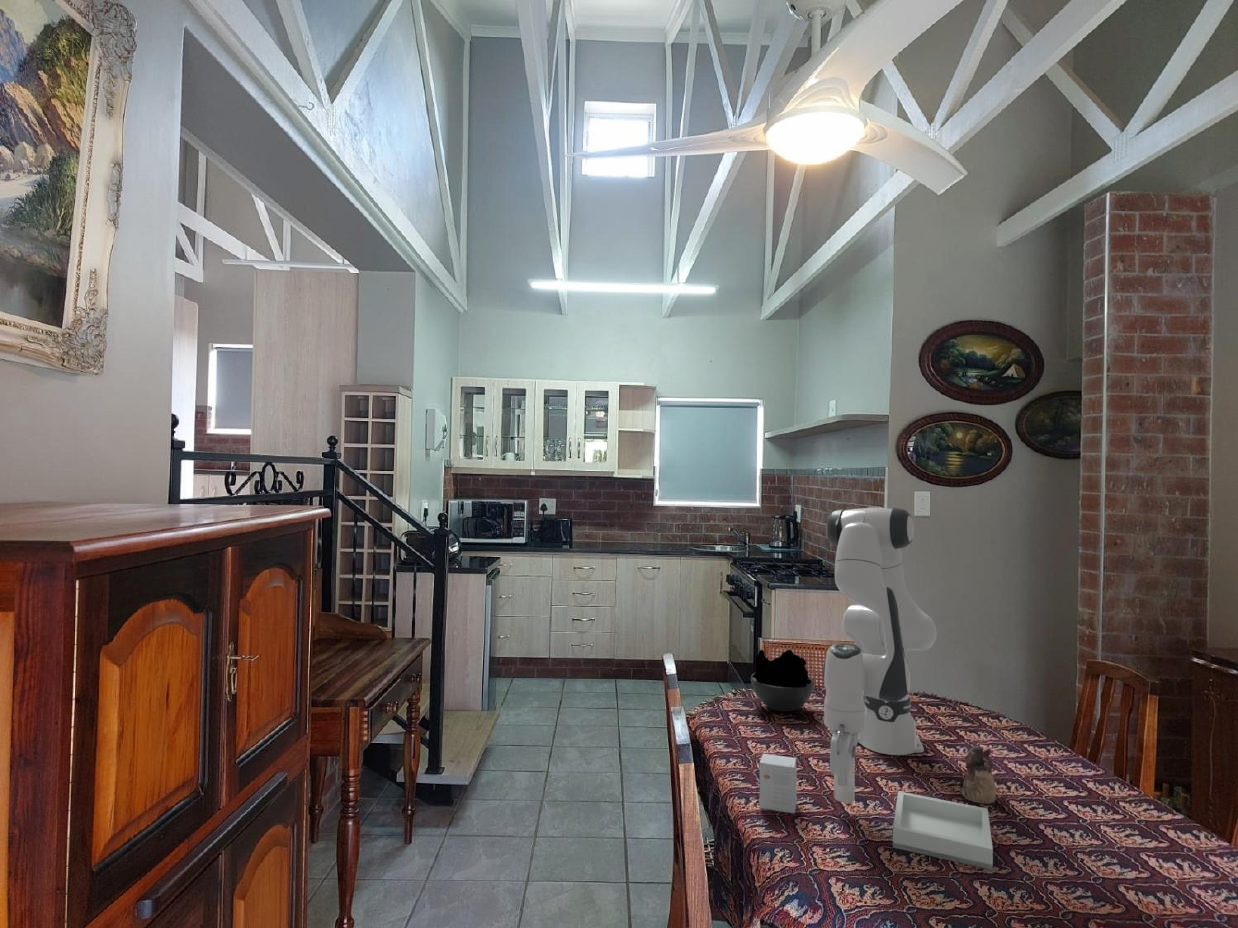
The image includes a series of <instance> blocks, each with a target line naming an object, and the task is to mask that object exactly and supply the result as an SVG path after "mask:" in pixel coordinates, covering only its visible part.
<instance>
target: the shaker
mask: <svg viewBox="0 0 1238 928" xmlns="http://www.w3.org/2000/svg"><path fill="white" fill-rule="evenodd" d="M856 749H857V746H856V747H855V746H853V749H852V762H851V765H850V769H849V772H848V775H847V785H846V787H843V786H839V785H838V776H837V775H833V797H834V799H835V800H836V801H838V802H841V803H844V804H851V803H854V802H855V800H856V798H855V793H856V792H855V787H856V786H855V785H856V784H855V781H856V780H855V779H856V778H855V777H856V776H855V774H856V773H855V769H856V767H855V766H856V764H855V763H856V759H855V758H856V754H857V753H856V752H857V751H856ZM837 754H838V753H837ZM838 755H840V754H838Z"/></svg>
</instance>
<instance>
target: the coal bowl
mask: <svg viewBox="0 0 1238 928" xmlns="http://www.w3.org/2000/svg"><path fill="white" fill-rule="evenodd" d="M755 662H756V663H755V672H754V673H753V674H751V676H750V682H751V687H752V689H753V692H754V694H755V696H756V697H757V699H758V700H759V701H761V703H763V704H764V705H765V706H766V707H768V708H770V709H772V710H774V711H776V712H792V711H795V710H798V709H800V708H801V707H802V706H804V705H805V704H806V703H807V702H808V701H809V699H810V697H811V696H812V694H813V691H814V688H815V687H814V686H815V681H814V679H813V678H812V677H810V676H809V675H808V674H809V670H807V668H806V664H807V661H806V660H805V659H804V658H803V657H801V656H799V655H797V654H795V653H794V652H793V650H792V649H787V650H786V651H784V652H782V653H781V655H780V656H779V657H775V658H773V659H772V660H769V658H767V657H766V655H765V650H764V649H760V650H759V651H758V654H757V655H756V657H755Z"/></svg>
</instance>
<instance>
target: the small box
mask: <svg viewBox="0 0 1238 928" xmlns="http://www.w3.org/2000/svg"><path fill="white" fill-rule="evenodd" d="M797 771H798V770H797V757H790V756H783V755H776V754H768V753H762V754H761V758H760V761H759V808H760V809H765V810H769V811H775V812H776V811H777V812H783V813H789V814H796V808H797V804H798V803H797V802H798V798H797V797H798V793H797V790H798V789H797V787H798V786H797V776H798V775H797Z"/></svg>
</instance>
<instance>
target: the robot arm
mask: <svg viewBox="0 0 1238 928" xmlns="http://www.w3.org/2000/svg"><path fill="white" fill-rule="evenodd" d="M826 533H827V539H828V541H829V542H830V543H831V544H832V545H833V546H835V547H836V554H835V562H834V582H835V585H836V587H837V589H838V590H839V592H840V593H841V594H842V595H843V596H845V598H847V599H848V600H850V601H852V602H854V603H856V604H851V605H850V606H849V607H847V608H846V610H845V611H844V613H843V617H842V627H843V630H844V632H845V633H846V635H847V636H848V637H849V638H850V639H851V640H852V641H853V642H854V643H855V644H853V643H848V642H847V643H846V642H840V643H834V644H831V645H830V646H829V647H828V648H827V651H826V658H825V659H824V661H823V666H822V667H823V669H822V671H823V672H822V677H823V678H822V680H823V683H824V688H825V697H824V701H823V702H824V703H823V711H824V712H823V716H824V717H823V724H824V726H826V728H828V729H829V732H830V733H829V734H832V736H831V740H830V750H829V751H830V752H829V753H830V755H829V772H830V774H831V775H832V776H834V775H837V776H838V785H839V786H843V787H846V785H847V775H848V772H849V769H850V765H851V762H852V749H853V746H855V747H856V748H857V746H858V744H860V745H861V746H863V747H864V748H866V749H868V750H870V751H872V752H874V753H875V752H877V753H879V754H885V755H888V756H889V755H890V756H891V755H892V756H905V755H906V756H907V755H910V754H914V753H917V754H919V753H924V752H925V747H924V746H923V743H922V742H921V739H920V737H919V735H918V731H917V727H916V726H917V722H916V720H915V718H914V717H913V715H912V713H911V706H912V703H911V698H910V696H909V695H910V694H909V692H910V689H911V674H910V671H909V667H908V664H907V661H906V655H905V651H910V652H912V651H913V652H918V651H919V652H920V651H922V652H924V651H928V650H929V649H931V647H932V646H933V645H934V644H935V642H936V640H937V635H938V632H937V630H938V629H937V625H936V624H935V621H934V620H933V618H931V616H930V615H928V614H927V613H926V612H924V611H923V609H921V608H920V607H919V606H918V605H917V604H916V602H915V600H914V598H912V597H911V594H910V592H909V590H908V587H907V585H906V579H905V572H904V564H903V563H904V562H903V556H902V550H901V549H903V548H906V547H908V546H909V545H910V544H911V543H912V541H913V538H914V535H915V523H914V521H913V519H912V515H911V514H910V513H909V512H908V510H905V509H902V508H898V507H897V508H896V507H893V508H888V507H887V508H885V507H873V506H871V507H866V508H865V507H861V508H851V509H845V508H841V509H837V510H834V511H832V513H830V514H829V516H828V519H827V522H826ZM837 753H838V754H840V755H838V754H837Z"/></svg>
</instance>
